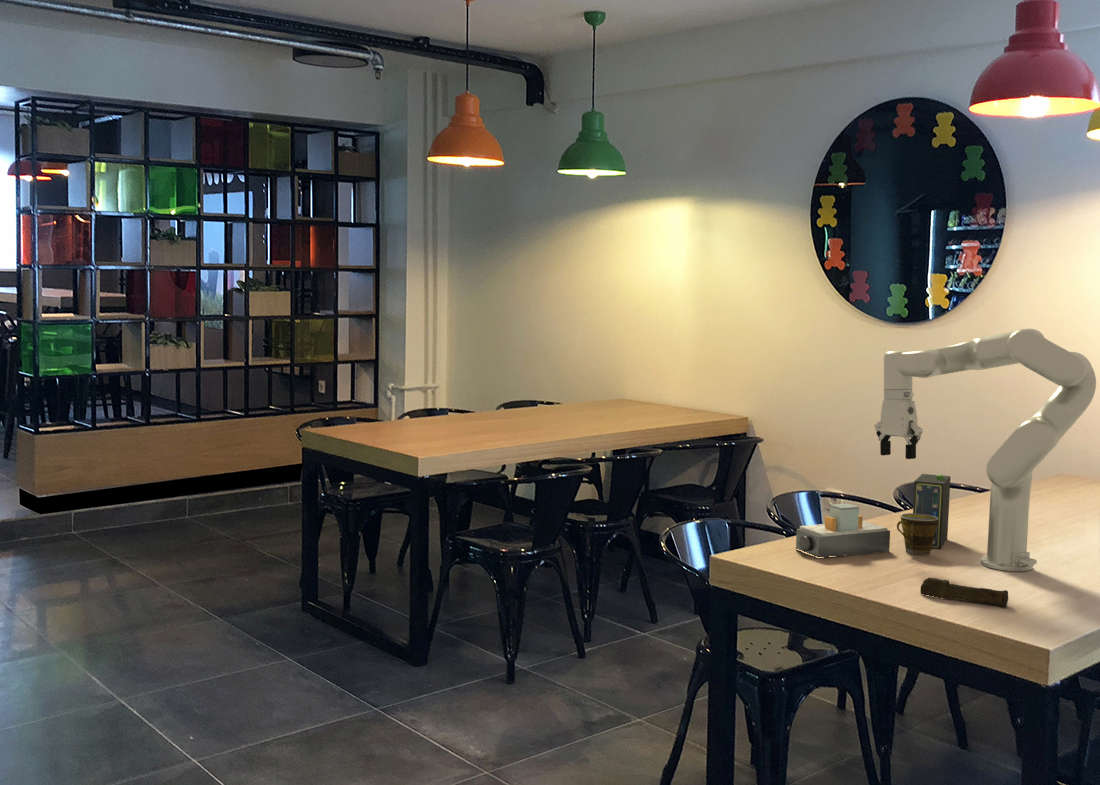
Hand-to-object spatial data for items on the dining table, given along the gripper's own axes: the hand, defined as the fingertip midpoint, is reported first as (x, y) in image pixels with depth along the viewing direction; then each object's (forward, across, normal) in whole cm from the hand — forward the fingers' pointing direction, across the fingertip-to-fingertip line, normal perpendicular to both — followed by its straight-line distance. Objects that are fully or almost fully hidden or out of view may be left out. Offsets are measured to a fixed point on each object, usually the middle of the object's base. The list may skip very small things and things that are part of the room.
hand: (897, 456), depth 285 cm
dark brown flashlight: (+28, -44, +21) cm, 56 cm away
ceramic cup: (+27, -3, -3) cm, 27 cm away
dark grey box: (+27, +5, -16) cm, 32 cm away
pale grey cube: (+19, +5, +15) cm, 25 cm away
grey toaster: (+26, +6, +15) cm, 30 cm away
